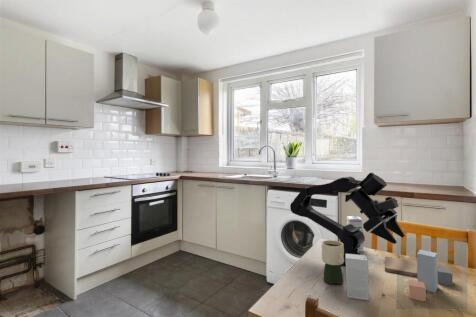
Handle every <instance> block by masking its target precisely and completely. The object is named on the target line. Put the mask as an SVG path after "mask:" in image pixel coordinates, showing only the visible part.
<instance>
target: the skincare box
mask: <svg viewBox="0 0 476 317" xmlns="http://www.w3.org/2000/svg"><path fill="white" fill-rule="evenodd" d="M345 259H346V267H345V281H346V282H345V284H346V296H347V298H348V299H354V300H362V301H363V300H364V301H370V285H369V283H370V282H369V281H370V280H369V260H368V257H367V256H366V255H365V254H360V255H356V254H345Z"/></svg>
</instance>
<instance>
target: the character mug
mask: <svg viewBox="0 0 476 317" xmlns="http://www.w3.org/2000/svg"><path fill="white" fill-rule="evenodd" d="M321 261H322V262H323V263H325V264H324V269H323V276H322V278H323V281H325V282H326V283H329V284H342V283H343V282H344V276H343V270H342V266H340V265H341V264H343V263H344V245H343V243H342V242H341V241H340V240H339V241H338V240H332V239H327V240H326V239H325V240H323V241H321Z"/></svg>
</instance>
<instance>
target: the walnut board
mask: <svg viewBox="0 0 476 317" xmlns="http://www.w3.org/2000/svg"><path fill="white" fill-rule="evenodd" d="M384 272H389V273H395V274H399V275H405V276H409V277H410V276H411V277H416V278H417V260H409V259H404V258H396V257H390V256H385V258H384Z"/></svg>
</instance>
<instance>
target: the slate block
mask: <svg viewBox="0 0 476 317" xmlns="http://www.w3.org/2000/svg"><path fill="white" fill-rule="evenodd" d="M416 261H417V277H416V278H417V279H416V281H419V282H424V285H425V288H426V292H431V293H433V294H435V293H436V292H437V290H438V288H439V283H438V267H439V266H438V265H439V264H438V253H437V252H434V251H429V250H424V249H419V250H418V251H417V253H416Z"/></svg>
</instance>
